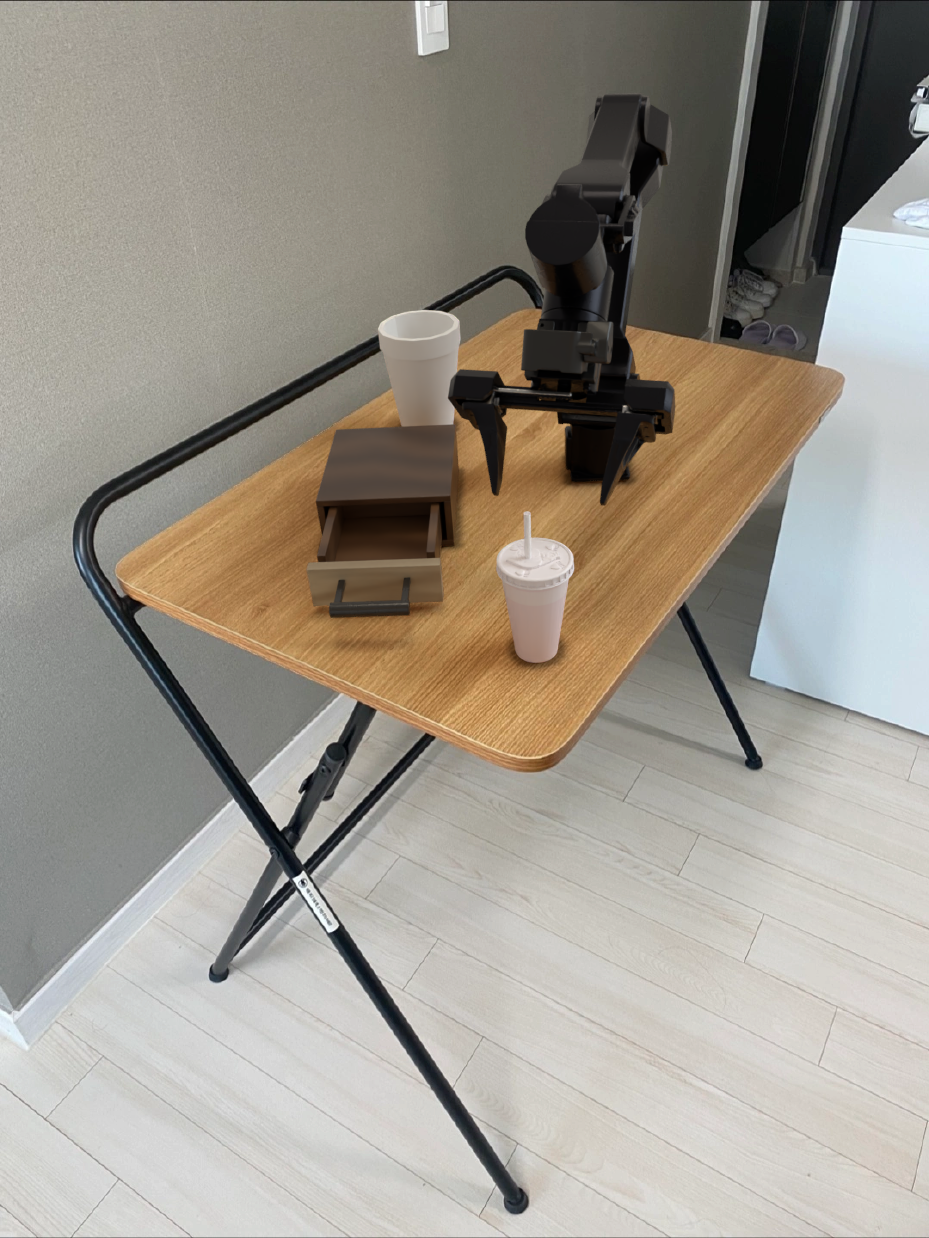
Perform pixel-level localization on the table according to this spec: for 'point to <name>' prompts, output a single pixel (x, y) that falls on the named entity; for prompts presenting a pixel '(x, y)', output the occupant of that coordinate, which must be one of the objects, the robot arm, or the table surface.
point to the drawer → (378, 559)
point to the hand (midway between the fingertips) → (548, 499)
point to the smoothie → (535, 592)
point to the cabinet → (393, 470)
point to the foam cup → (421, 364)
